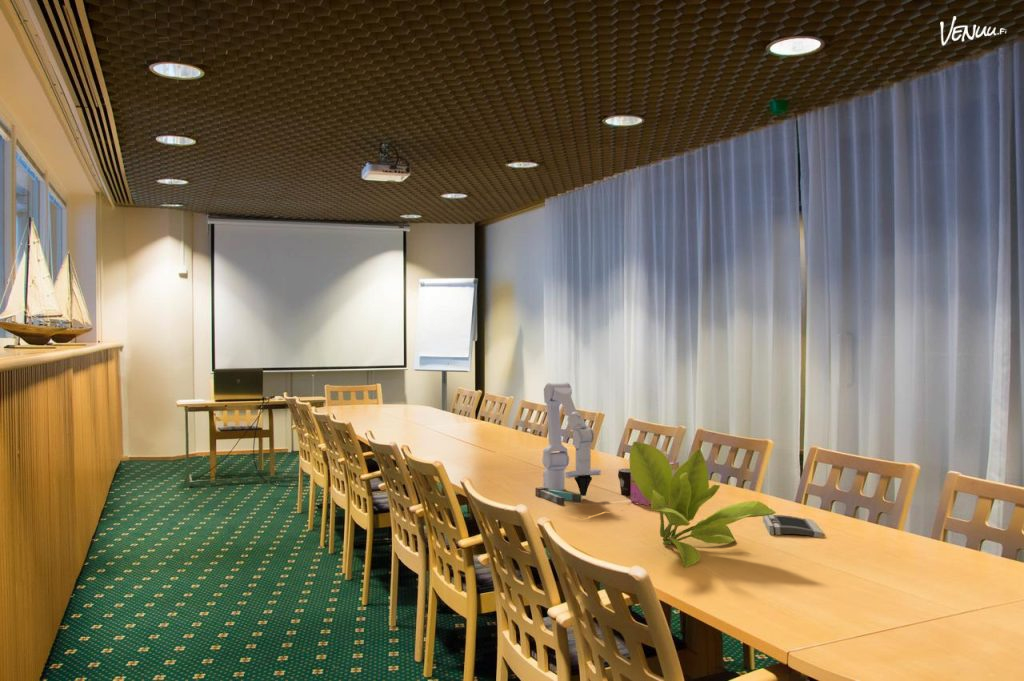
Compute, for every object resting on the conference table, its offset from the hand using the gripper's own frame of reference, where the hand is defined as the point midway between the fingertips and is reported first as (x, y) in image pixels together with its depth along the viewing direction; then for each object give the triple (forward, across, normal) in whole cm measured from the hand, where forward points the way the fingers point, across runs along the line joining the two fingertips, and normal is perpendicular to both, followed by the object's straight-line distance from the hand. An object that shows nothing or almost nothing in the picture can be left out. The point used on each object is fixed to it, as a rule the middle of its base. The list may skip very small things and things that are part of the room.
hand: (583, 495), depth 289 cm
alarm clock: (+3, +38, -67) cm, 77 cm away
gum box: (+2, +26, -11) cm, 28 cm away
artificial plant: (+2, -6, -71) cm, 71 cm away
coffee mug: (+2, +22, +1) cm, 22 cm away
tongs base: (+1, -11, +4) cm, 12 cm away
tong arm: (+1, -7, +2) cm, 7 cm away
